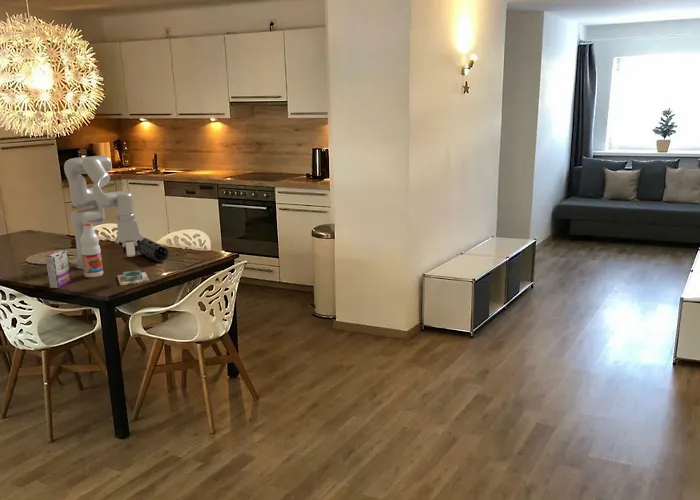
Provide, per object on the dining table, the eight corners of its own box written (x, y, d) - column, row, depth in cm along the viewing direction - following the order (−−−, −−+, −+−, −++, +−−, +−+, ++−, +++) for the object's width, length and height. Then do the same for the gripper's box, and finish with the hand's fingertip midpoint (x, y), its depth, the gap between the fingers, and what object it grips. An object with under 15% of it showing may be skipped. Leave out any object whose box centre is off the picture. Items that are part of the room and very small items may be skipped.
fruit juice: (93, 272, 341) (87, 220, 334) (107, 273, 338) (101, 221, 331) (80, 276, 332) (73, 224, 325) (94, 278, 329) (88, 225, 322)
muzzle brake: (153, 265, 352) (151, 247, 350) (134, 255, 374) (133, 238, 371) (170, 262, 358) (168, 244, 356) (150, 252, 379) (149, 235, 377)
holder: (120, 285, 316) (119, 279, 315) (117, 277, 330) (116, 271, 330) (149, 281, 321) (148, 276, 321) (145, 273, 336) (145, 268, 335)
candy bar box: (62, 281, 325) (58, 250, 321) (71, 281, 324) (67, 250, 320) (49, 288, 314) (44, 256, 310) (58, 288, 313) (54, 256, 309)
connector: (127, 257, 319) (125, 242, 317) (126, 254, 324) (124, 240, 323) (135, 256, 321) (134, 241, 319) (134, 253, 326) (132, 239, 324)
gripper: (109, 221, 311) (113, 257, 316) (145, 217, 318) (148, 253, 322) (108, 218, 318) (112, 254, 323) (143, 215, 324) (147, 250, 329)
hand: (130, 253), depth 322 cm, fingers closed on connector, 4 cm apart
